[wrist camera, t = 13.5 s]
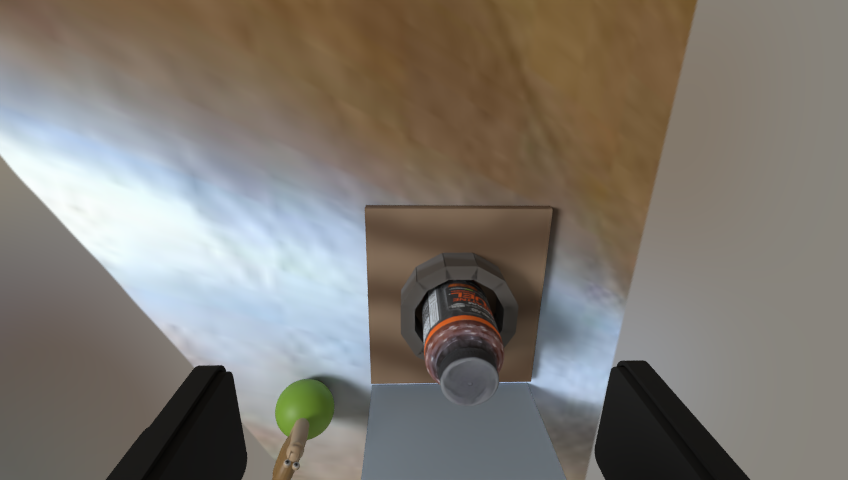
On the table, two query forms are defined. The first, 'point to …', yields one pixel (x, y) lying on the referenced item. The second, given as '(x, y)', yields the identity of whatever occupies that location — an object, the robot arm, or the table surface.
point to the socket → (453, 260)
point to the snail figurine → (300, 421)
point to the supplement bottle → (461, 342)
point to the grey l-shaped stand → (456, 436)
